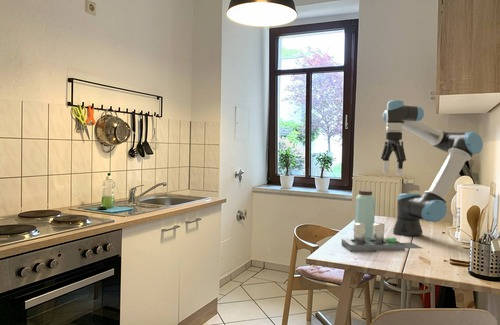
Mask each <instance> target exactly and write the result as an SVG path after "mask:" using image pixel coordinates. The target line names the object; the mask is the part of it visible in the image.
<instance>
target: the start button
mask: <svg viewBox="0 0 500 325" xmlns="http://www.w3.org/2000/svg"><path fill="white" fill-rule="evenodd" d="M396 241H397V238H396V237H391V236H390V237H387V242H388V243H396Z"/></svg>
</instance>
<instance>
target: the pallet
mask: <svg viewBox="0 0 500 325" xmlns="http://www.w3.org/2000/svg"><path fill="white" fill-rule="evenodd" d="M387 238H388V237H387ZM387 238H385V237H384V243H373V242H372V241H373V238H365V241H364V244H355V243H354V242H353V241H354V237H352V238H350V237H349V238H345V237H344V238H341V246H343V247H344V248H345V249H346V250H348V251H349V252H352V251H355V252H356V251H367V253H368V252H371V253H373V252H379V251H406V248H405V245H404V244H402V243H403V242H400V241H398V240H396V243H388V242H387Z"/></svg>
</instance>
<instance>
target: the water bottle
mask: <svg viewBox="0 0 500 325" xmlns="http://www.w3.org/2000/svg"><path fill="white" fill-rule="evenodd" d="M354 204H355V205H354V223H363V224H365V238H373V223H375V215H376V197H374V196H373V191H372V190H365V189H361V190H358V194H357V195H356V196H355V203H354Z"/></svg>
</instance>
